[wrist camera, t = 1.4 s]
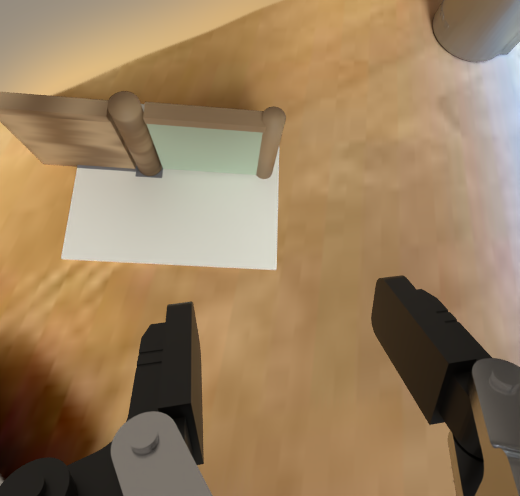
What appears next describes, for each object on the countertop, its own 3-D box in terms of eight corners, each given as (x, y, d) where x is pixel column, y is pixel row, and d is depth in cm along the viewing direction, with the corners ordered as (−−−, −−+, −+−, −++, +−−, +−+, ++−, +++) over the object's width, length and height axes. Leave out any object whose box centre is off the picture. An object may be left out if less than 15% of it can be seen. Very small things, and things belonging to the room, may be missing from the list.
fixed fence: (164, 157, 38) (142, 92, 28) (161, 178, 37) (138, 120, 28) (46, 148, 37) (-17, 79, 28) (42, 170, 37) (-25, 107, 27)
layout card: (279, 116, 40) (280, 114, 40) (276, 270, 36) (276, 269, 36) (90, 101, 39) (89, 99, 39) (62, 259, 34) (60, 258, 34)
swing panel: (272, 163, 38) (286, 107, 29) (272, 179, 37) (285, 127, 29) (164, 155, 37) (144, 96, 28) (162, 172, 37) (141, 116, 28)
